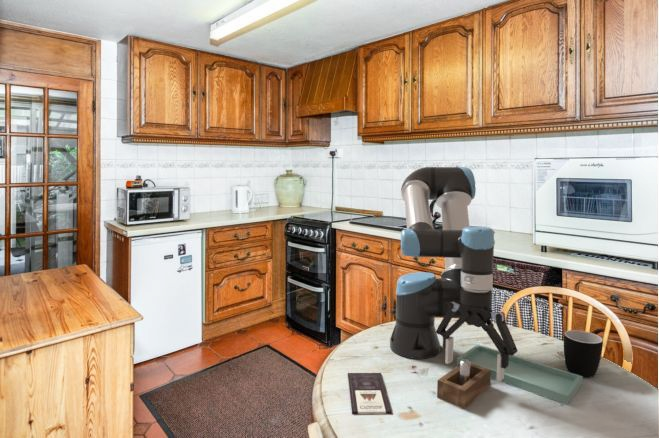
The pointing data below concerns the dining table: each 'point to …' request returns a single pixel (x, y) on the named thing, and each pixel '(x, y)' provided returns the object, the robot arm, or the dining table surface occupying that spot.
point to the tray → (528, 374)
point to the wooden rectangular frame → (463, 386)
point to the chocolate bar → (368, 394)
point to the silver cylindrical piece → (464, 371)
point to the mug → (582, 352)
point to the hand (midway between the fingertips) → (473, 370)
